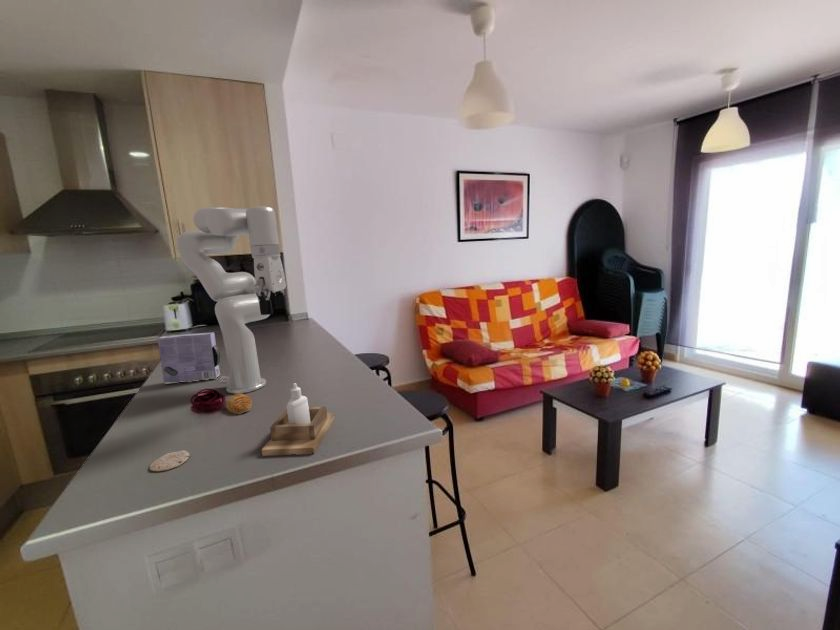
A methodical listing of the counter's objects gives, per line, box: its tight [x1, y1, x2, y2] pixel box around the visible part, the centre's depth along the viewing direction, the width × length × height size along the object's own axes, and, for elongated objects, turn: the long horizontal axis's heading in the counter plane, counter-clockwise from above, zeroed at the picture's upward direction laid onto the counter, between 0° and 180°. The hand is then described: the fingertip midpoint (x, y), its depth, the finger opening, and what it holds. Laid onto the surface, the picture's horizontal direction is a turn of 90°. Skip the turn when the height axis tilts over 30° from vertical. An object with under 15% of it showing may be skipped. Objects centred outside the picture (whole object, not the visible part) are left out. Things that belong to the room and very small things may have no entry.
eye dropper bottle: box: [286, 382, 311, 424], centre depth 95 cm, size 4×6×12 cm
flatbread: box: [149, 449, 190, 472], centre depth 88 cm, size 8×8×1 cm
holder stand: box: [261, 406, 336, 457], centre depth 95 cm, size 12×18×5 cm, turn 178°
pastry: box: [225, 393, 253, 415], centre depth 114 cm, size 9×7×4 cm
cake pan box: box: [157, 331, 221, 384], centre depth 142 cm, size 19×5×18 cm, turn 100°
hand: (274, 311), depth 112 cm, fingers open, 9 cm apart
